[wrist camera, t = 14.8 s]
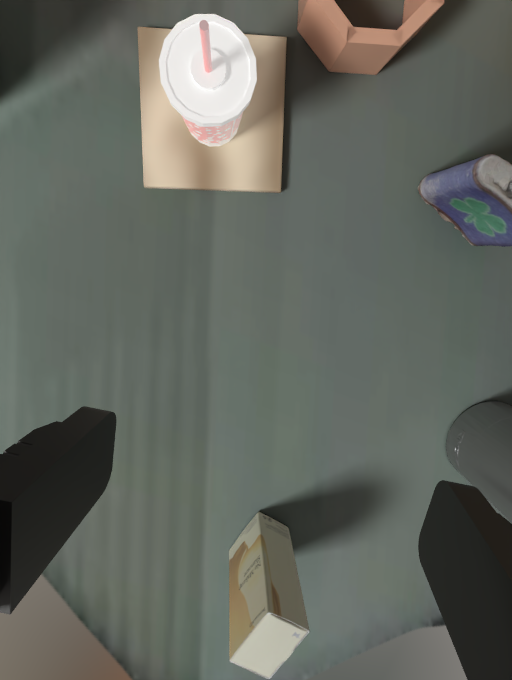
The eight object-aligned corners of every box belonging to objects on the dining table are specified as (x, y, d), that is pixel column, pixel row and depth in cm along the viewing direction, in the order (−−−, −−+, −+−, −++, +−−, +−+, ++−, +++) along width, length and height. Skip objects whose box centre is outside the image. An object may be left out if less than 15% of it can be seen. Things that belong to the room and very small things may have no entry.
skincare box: (257, 509, 43) (270, 608, 31) (289, 526, 44) (313, 629, 32) (226, 552, 44) (226, 664, 32) (258, 567, 45) (270, 683, 33)
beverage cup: (219, 60, 32) (214, -79, 18) (263, 126, 33) (289, 43, 20) (161, 107, 33) (115, 6, 19) (206, 171, 34) (194, 119, 20)
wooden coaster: (285, 42, 33) (286, 37, 32) (279, 192, 36) (280, 191, 35) (139, 32, 32) (137, 26, 31) (145, 187, 35) (143, 186, 34)
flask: (411, 190, 36) (486, 168, 26) (432, 164, 36) (517, 131, 26) (477, 253, 38) (571, 255, 28) (497, 228, 38) (601, 221, 28)
